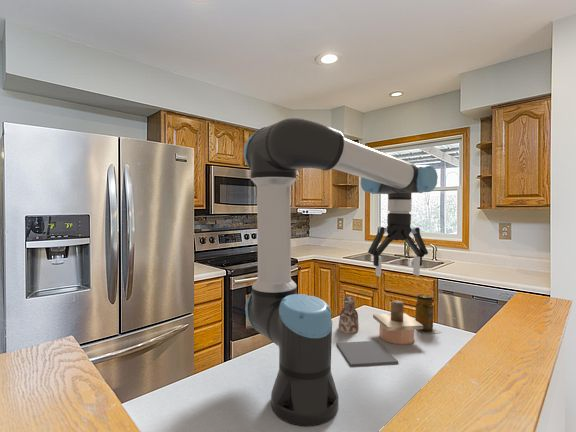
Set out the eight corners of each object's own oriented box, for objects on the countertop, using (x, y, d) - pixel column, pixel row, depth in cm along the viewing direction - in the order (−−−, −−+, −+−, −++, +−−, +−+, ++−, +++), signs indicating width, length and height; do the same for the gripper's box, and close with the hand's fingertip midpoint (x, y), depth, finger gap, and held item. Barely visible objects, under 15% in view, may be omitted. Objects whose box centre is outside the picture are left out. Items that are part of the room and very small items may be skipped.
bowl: (388, 345, 104) (388, 330, 103) (374, 331, 114) (374, 318, 114) (420, 343, 105) (420, 328, 105) (403, 330, 116) (404, 316, 116)
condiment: (426, 324, 123) (427, 293, 122) (441, 332, 114) (442, 299, 114) (409, 325, 121) (410, 294, 121) (423, 334, 113) (424, 300, 112)
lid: (388, 330, 103) (388, 308, 103) (373, 317, 115) (373, 297, 114) (423, 329, 104) (423, 307, 104) (404, 316, 116) (405, 296, 116)
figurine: (338, 332, 114) (338, 298, 113) (338, 325, 121) (339, 293, 120) (359, 333, 113) (359, 299, 112) (357, 326, 120) (358, 294, 119)
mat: (350, 366, 90) (350, 364, 90) (336, 344, 104) (336, 342, 104) (398, 363, 92) (398, 361, 92) (377, 342, 106) (377, 340, 106)
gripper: (427, 213, 114) (425, 272, 114) (359, 211, 110) (358, 273, 111) (440, 213, 106) (438, 277, 107) (368, 212, 103) (366, 278, 103)
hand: (397, 275), depth 109 cm, fingers open, 13 cm apart
